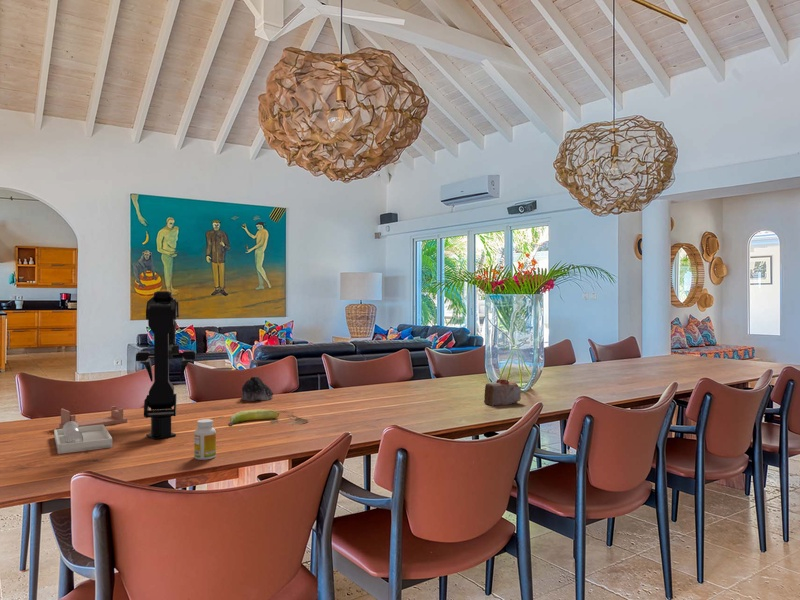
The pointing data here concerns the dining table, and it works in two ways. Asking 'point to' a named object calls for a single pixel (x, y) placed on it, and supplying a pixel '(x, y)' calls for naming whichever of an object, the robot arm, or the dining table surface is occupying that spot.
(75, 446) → the tray
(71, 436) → the pin
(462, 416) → the dining table surface
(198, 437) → the supplement bottle
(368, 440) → the dining table surface
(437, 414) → the dining table surface
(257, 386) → the dark grey rough lump
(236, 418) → the unripe green banana
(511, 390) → the food item
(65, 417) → the hitch bracket
